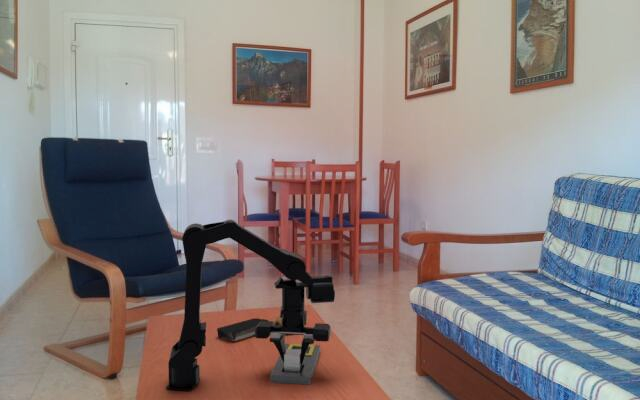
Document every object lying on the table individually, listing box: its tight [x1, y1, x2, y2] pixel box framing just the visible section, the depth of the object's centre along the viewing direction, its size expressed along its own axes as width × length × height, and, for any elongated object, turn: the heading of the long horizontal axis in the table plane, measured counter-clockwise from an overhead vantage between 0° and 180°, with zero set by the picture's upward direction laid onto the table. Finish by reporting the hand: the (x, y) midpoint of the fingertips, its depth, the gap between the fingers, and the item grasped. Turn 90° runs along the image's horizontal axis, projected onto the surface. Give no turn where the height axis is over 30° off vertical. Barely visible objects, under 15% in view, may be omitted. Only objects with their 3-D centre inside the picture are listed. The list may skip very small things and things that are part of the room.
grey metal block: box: [284, 349, 302, 373], centre depth 133 cm, size 4×4×6 cm
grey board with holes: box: [269, 343, 321, 386], centre depth 139 cm, size 10×21×2 cm, turn 173°
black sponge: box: [216, 317, 269, 342], centre depth 163 cm, size 16×8×4 cm, turn 136°
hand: (293, 363), depth 133 cm, fingers closed on grey metal block, 4 cm apart
